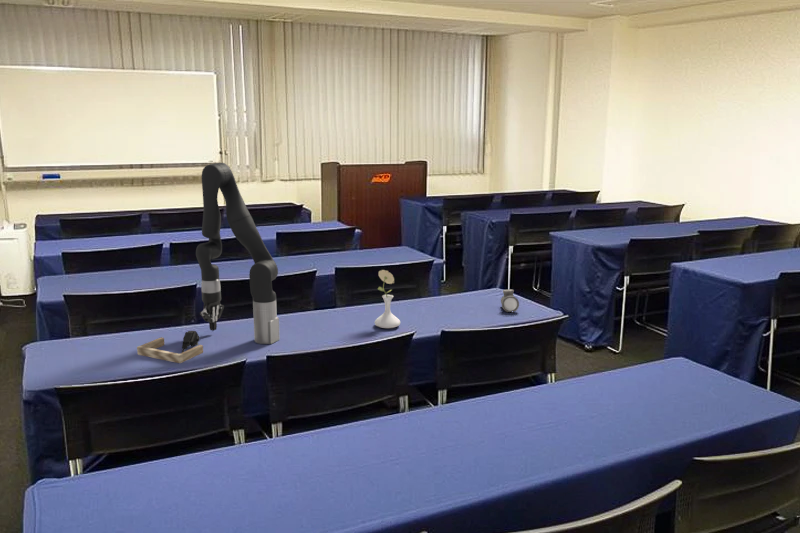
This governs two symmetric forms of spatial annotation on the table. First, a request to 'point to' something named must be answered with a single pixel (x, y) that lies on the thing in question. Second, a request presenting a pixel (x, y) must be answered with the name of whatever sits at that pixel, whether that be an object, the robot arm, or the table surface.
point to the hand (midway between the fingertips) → (213, 329)
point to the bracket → (151, 351)
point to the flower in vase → (387, 304)
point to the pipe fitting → (509, 301)
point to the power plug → (190, 339)
